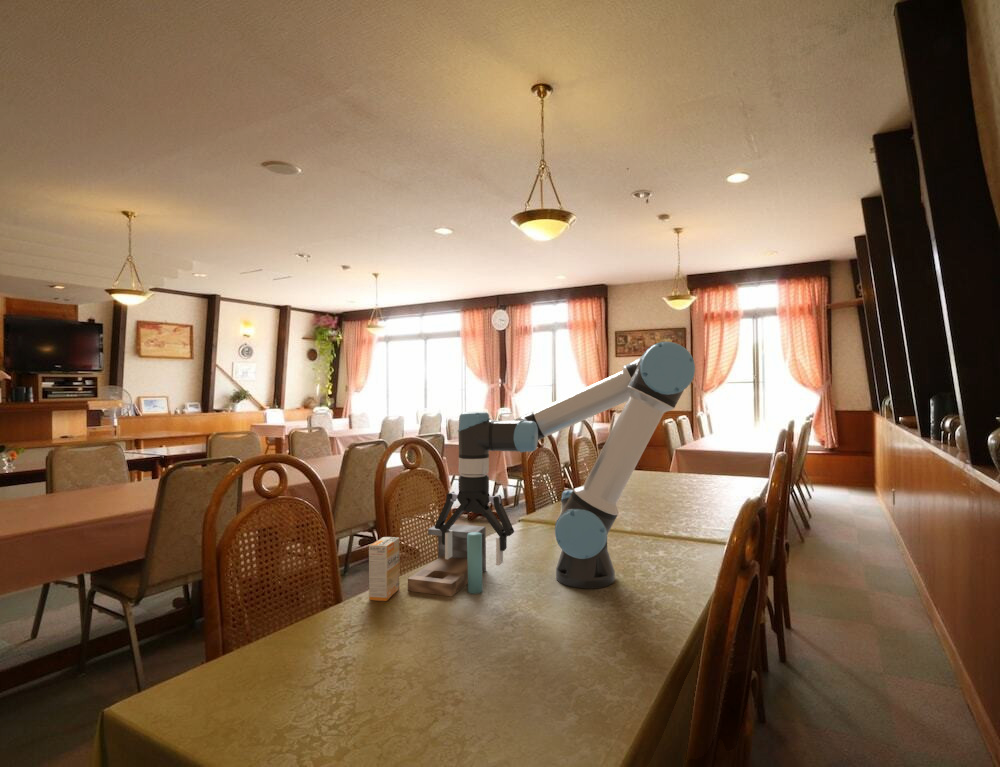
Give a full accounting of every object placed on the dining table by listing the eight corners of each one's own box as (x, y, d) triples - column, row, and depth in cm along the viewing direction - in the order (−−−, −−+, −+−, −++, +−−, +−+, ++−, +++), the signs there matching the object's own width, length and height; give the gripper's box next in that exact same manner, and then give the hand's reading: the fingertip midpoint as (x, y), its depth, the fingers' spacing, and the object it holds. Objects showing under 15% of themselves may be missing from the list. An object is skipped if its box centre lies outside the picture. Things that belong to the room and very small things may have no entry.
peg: (484, 589, 136) (483, 532, 136) (479, 594, 132) (478, 536, 133) (471, 587, 137) (470, 531, 137) (465, 592, 134) (464, 535, 134)
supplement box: (387, 601, 129) (387, 546, 129) (368, 600, 130) (367, 545, 130) (400, 589, 137) (400, 536, 137) (382, 588, 138) (382, 535, 138)
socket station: (486, 570, 150) (485, 526, 150) (455, 596, 131) (455, 546, 131) (440, 565, 155) (439, 523, 155) (404, 590, 136) (403, 541, 136)
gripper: (526, 474, 134) (526, 561, 134) (435, 469, 143) (435, 551, 143) (516, 479, 127) (517, 571, 127) (421, 474, 136) (421, 559, 136)
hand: (473, 560), depth 135 cm, fingers open, 13 cm apart
